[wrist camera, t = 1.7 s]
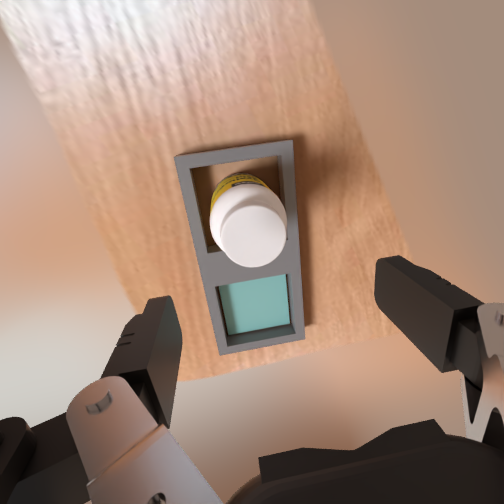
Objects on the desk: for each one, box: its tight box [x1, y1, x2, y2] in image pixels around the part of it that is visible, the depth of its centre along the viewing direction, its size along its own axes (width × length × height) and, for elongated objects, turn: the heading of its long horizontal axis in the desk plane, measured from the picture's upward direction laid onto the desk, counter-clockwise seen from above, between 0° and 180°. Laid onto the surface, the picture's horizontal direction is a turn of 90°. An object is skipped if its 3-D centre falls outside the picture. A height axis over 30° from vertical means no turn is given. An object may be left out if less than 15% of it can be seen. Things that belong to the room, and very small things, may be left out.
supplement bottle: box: [210, 173, 287, 267], centre depth 21 cm, size 5×5×10 cm
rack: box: [174, 140, 305, 355], centre depth 27 cm, size 20×10×2 cm, turn 7°
